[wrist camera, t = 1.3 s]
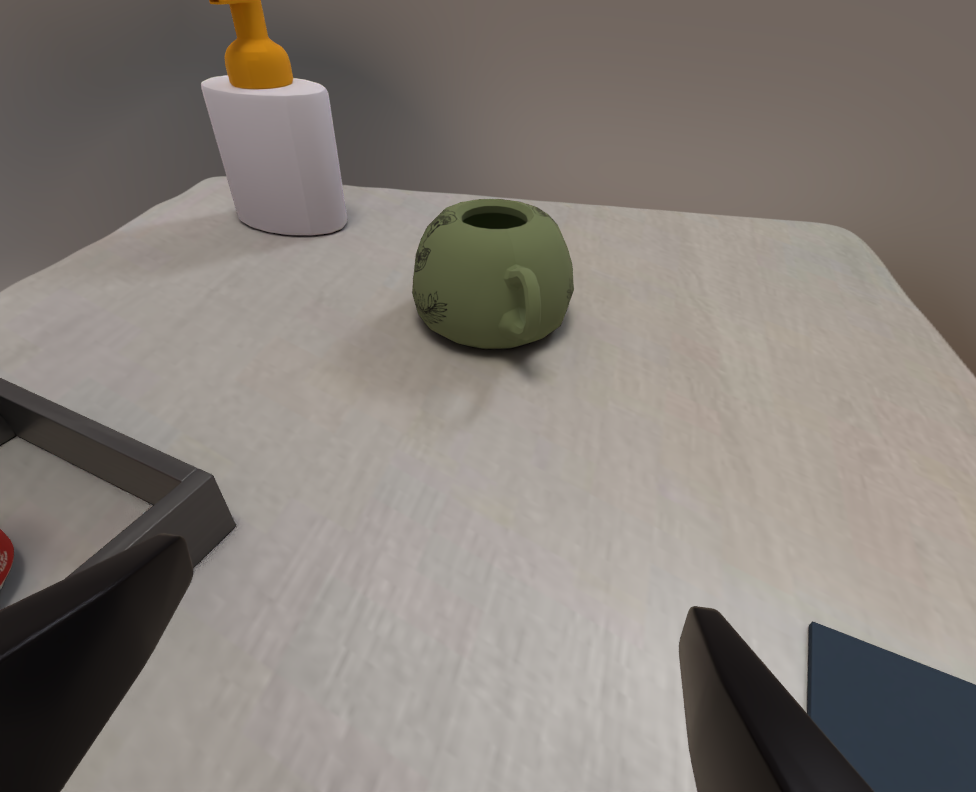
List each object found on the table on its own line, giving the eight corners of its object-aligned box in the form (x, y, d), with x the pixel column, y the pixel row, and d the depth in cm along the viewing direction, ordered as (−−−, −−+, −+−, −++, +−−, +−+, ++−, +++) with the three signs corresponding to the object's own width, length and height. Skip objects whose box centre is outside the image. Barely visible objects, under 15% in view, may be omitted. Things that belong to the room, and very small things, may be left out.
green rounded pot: (402, 287, 48) (393, 189, 43) (537, 271, 51) (546, 178, 46) (439, 399, 37) (434, 285, 31) (613, 371, 39) (636, 261, 34)
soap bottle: (217, 223, 58) (144, -12, 45) (268, 198, 64) (215, -16, 51) (321, 245, 55) (274, -4, 42) (364, 216, 60) (335, -10, 47)
